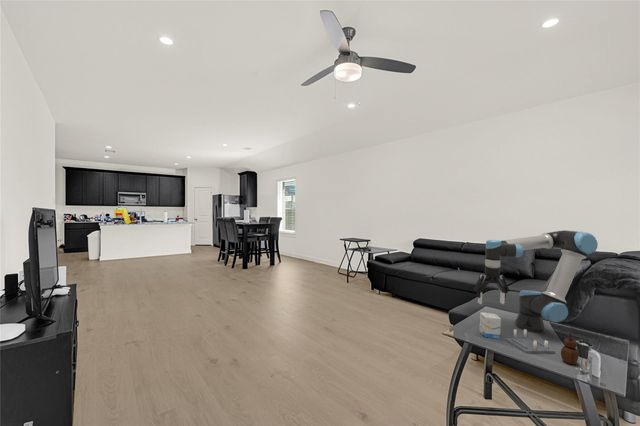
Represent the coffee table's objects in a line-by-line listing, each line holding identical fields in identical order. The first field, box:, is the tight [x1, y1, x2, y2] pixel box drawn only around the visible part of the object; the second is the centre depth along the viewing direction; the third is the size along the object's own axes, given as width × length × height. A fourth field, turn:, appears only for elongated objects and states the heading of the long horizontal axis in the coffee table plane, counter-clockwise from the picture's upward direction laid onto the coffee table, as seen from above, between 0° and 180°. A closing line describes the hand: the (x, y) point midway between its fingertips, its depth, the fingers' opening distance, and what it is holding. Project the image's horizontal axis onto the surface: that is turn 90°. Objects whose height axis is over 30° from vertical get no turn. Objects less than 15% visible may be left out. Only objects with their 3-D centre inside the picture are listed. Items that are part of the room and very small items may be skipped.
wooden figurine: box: [560, 332, 580, 365], centre depth 136 cm, size 7×6×15 cm
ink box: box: [478, 311, 502, 340], centre depth 164 cm, size 9×8×12 cm
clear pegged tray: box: [505, 328, 556, 354], centre depth 151 cm, size 16×15×6 cm
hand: (490, 303), depth 163 cm, fingers open, 13 cm apart
